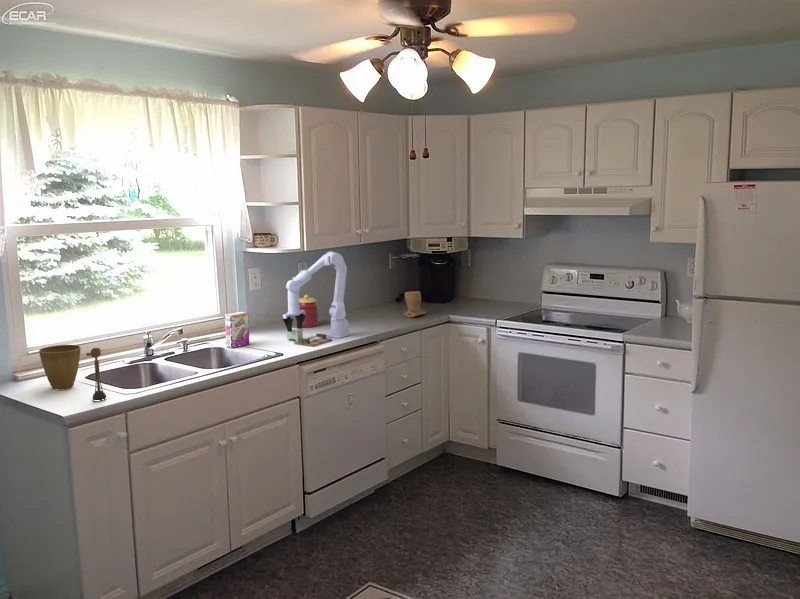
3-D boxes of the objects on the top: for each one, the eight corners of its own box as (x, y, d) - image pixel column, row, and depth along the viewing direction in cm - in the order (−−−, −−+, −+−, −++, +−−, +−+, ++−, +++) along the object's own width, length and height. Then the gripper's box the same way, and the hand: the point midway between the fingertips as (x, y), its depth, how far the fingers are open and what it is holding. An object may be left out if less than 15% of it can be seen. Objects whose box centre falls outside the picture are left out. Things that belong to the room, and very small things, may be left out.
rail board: (313, 338, 368) (313, 332, 367) (331, 340, 361) (331, 335, 361) (294, 344, 355) (293, 338, 355) (313, 346, 349) (312, 340, 348)
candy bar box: (232, 348, 347) (230, 315, 345) (225, 347, 350) (223, 314, 348) (250, 344, 356) (248, 312, 353) (244, 343, 359) (242, 311, 356)
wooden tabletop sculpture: (95, 403, 262) (90, 349, 259) (87, 401, 265) (82, 348, 262) (109, 398, 267) (104, 346, 264) (101, 397, 270) (97, 345, 266)
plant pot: (65, 394, 274) (62, 353, 272) (33, 391, 278) (29, 351, 276) (92, 383, 288) (88, 345, 286) (61, 381, 292) (57, 343, 290)
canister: (315, 322, 411) (314, 292, 408) (321, 326, 399) (320, 295, 396) (293, 324, 406) (292, 293, 403) (299, 328, 394) (298, 297, 391)
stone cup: (411, 313, 437) (411, 288, 435) (428, 314, 431) (428, 290, 428) (398, 317, 424) (397, 292, 422) (415, 318, 418) (415, 293, 416)
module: (292, 339, 367) (291, 327, 366) (302, 340, 363) (302, 328, 362) (287, 340, 363) (286, 328, 363) (297, 342, 360) (297, 330, 359)
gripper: (296, 301, 368) (297, 327, 371) (277, 305, 356) (278, 332, 358) (307, 302, 365) (308, 328, 367) (288, 306, 353) (289, 333, 355)
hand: (294, 330), depth 362 cm, fingers open, 7 cm apart
